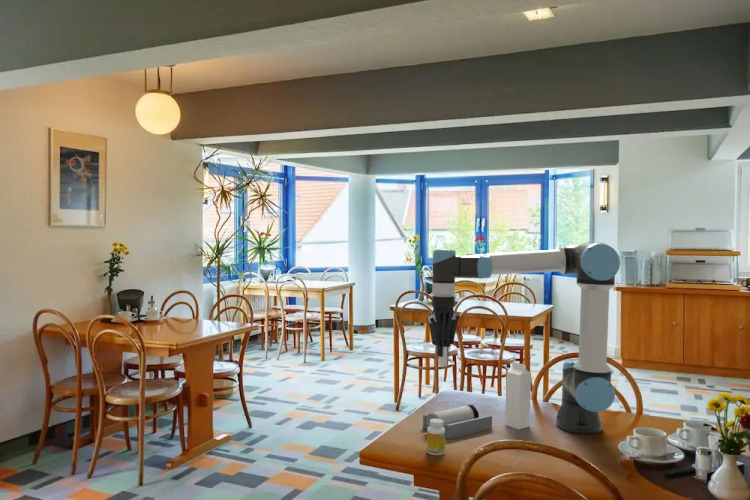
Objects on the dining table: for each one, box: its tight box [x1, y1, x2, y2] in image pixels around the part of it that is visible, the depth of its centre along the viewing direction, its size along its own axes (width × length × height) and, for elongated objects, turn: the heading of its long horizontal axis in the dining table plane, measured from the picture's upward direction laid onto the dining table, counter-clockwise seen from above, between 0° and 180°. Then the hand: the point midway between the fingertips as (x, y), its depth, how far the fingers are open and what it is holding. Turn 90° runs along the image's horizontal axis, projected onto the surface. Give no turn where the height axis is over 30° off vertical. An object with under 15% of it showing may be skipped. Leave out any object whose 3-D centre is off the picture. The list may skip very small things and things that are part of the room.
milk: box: [504, 361, 532, 430], centre depth 201 cm, size 6×6×22 cm
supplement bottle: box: [426, 419, 446, 456], centre depth 174 cm, size 5×5×10 cm
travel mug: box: [426, 404, 480, 430], centre depth 196 cm, size 6×7×20 cm
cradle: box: [422, 413, 493, 440], centre depth 197 cm, size 13×20×4 cm, turn 125°
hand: (442, 365), depth 192 cm, fingers closed
